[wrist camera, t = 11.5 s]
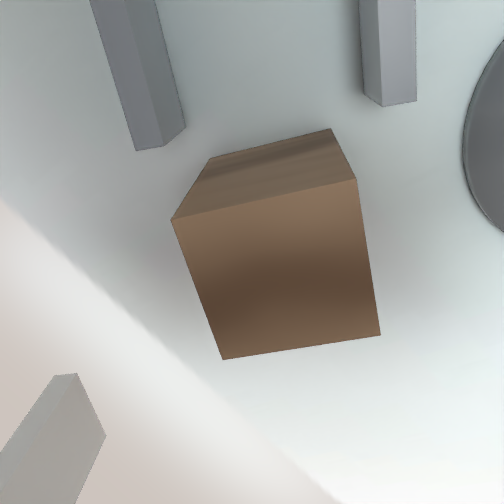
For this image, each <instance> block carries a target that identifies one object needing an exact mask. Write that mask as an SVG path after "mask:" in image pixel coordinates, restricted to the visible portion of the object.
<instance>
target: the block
mask: <svg viewBox="0 0 504 504" xmlns="http://www.w3.org/2000/svg"><path fill="white" fill-rule="evenodd" d="M171 223H172V225H173V228H174V231H175V233H176V236H177V239H178V241H179V244H180V247H181V249H182V252H183V255H184V258H185V260H186V263H187V266H188V268H189V271H190V274H191V276H192V279H193V282H194V284H195V287H196V290H197V292H198V295H199V298H200V301H201V303H202V306H203V309H204V311H205V314H206V317H207V319H208V322H209V325H210V327H211V330H212V333H213V335H214V338H215V341H216V344H217V346H218V349H219V352H220V354H221V357H222V360H227V359H233V358H239V357H246V356H252V355H258V354H265V353H271V352H278V351H284V350H290V349H297V348H303V347H309V346H316V345H322V344H329V343H335V342H341V341H348V340H354V339H361V338H367V337H373V336H380V335H381V333H380V327H379V321H378V314H377V308H376V302H375V295H374V289H373V283H372V276H371V270H370V263H369V257H368V251H367V244H366V238H365V232H364V225H363V219H362V212H361V206H360V200H359V193H358V187H357V181H356V177H355V175H354V173H353V171H352V169H351V167H350V165H349V163H348V161H347V159H346V157H345V155H344V153H343V152H342V150H341V148H340V146H339V144H338V142H337V140H336V138H335V136H334V134H333V132H332V130H331V128H330V129H326V130H322V131H318V132H314V133H310V134H306V135H302V136H298V137H294V138H290V139H286V140H282V141H278V142H274V143H270V144H266V145H262V146H258V147H254V148H250V149H246V150H242V151H238V152H234V153H230V154H225V155H221V156H217V157H213V158H210V159H209V161H208V162H207V164H206V165H205V167H204V169H203V170H202V172H201V173H200V175H199V176H198V178H197V179H196V181H195V183H194V184H193V186H192V187H191V189H190V190H189V192H188V194H187V195H186V197H185V198H184V200H183V201H182V203H181V205H180V206H179V208H178V209H177V211H176V212H175V214H174V215H173V217H172V219H171Z"/></svg>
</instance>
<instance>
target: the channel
mask: <svg viewBox="0 0 504 504" xmlns="http://www.w3.org/2000/svg"><path fill="white" fill-rule="evenodd" d="M358 3H359V19H360V34H361V50H362V66H363V81H364V95H366V96H367V97H369V98H370V99H372V100H373V101H375V102H376V103H377V104H379V105H380V106H382V107H386V106H391V105H397V104H403V103H408V102H414V101H417V86H416V6H415V0H358ZM90 4H91V7H92V10H93V13H94V17H95V20H96V23H97V26H98V30H99V33H100V36H101V39H102V43H103V46H104V49H105V52H106V56H107V59H108V62H109V65H110V69H111V72H112V75H113V78H114V82H115V85H116V88H117V91H118V95H119V98H120V101H121V104H122V108H123V111H124V114H125V117H126V121H127V124H128V127H129V130H130V134H131V137H132V140H133V143H134V147H135V150H136V151H139V150H145V149H150V148H156V147H162V146H165V145H166V144H167V143H168V142H170V141H171V140H172V139H173V138H174V137H175V136H176V135H178V134H179V133H180V132H181V131H182V130H183V129H184V128H186V125H185V121H184V117H183V113H182V109H181V105H180V101H179V97H178V93H177V89H176V85H175V81H174V77H173V73H172V69H171V65H170V61H169V57H168V53H167V49H166V45H165V41H164V37H163V33H162V29H161V25H160V21H159V17H158V13H157V9H156V5H155V1H154V0H90Z"/></svg>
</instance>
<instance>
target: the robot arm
mask: <svg viewBox="0 0 504 504" xmlns="http://www.w3.org/2000/svg"><path fill="white" fill-rule="evenodd" d="M105 438H106V434H105V432H104V430H103V428H102V425H101V423H100V421H99V419H98V417H97V415H96V413H95V410H94V408H93V406H92V404H91V402H90V400H89V398H88V395H87V393H86V391H85V389H84V387H83V385H82V383H81V381H80V378H79V376H78V374H77V373H74V374H65V375H55V376H54V377H53V378H52V380H51V381H50V383H49V384H48V385H47V387H46V388H45V390H44V391H43V393H42V394H41V395H40V397H39V398H38V400H37V401H36V403H35V404H34V405H33V407H32V408H31V410H30V411H29V412H28V414H27V415H26V417H25V418H24V420H23V421H22V422H21V424H20V426H19V427H18V428H17V430H16V431H15V432H14V434H13V435H12V437H11V438H10V439H9V441H8V442H7V444H6V445H5V447H4V448H3V450H2V451H1V452H0V504H75V503H76V500H77V498H78V496H79V494H80V492H81V490H82V488H83V485H84V483H85V481H86V479H87V477H88V474H89V472H90V470H91V468H92V466H93V464H94V461H95V459H96V457H97V455H98V453H99V451H100V448H101V446H102V444H103V442H104V440H105Z"/></svg>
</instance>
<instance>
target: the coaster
mask: <svg viewBox="0 0 504 504" xmlns="http://www.w3.org/2000/svg"><path fill="white" fill-rule="evenodd" d="M463 163H464V169H465V174H466V179H467V182H468V185H469V187H470V190H471V193H472V195H473V197H474V198H475V200H476V202H477V204H478V206H479V207H480V208H481V210H482V211H483V212H484V214H485V215H486V216H487V217H488V218H489V219H490V220H491V221H492V222H493V223H494V224H495V225H496V226H497V227H498V228H500V229H501V230H502V231H503V232H504V40H503V42H502V43H501V44H500V46H499V47H498V49H497V50H496V52H495V53H494V55H493V57H492V58H491V60H490V61H489V63H488V64H487V66H486V68H485V70H484V72H483V74H482V76H481V78H480V80H479V82H478V84H477V86H476V89H475V92H474V94H473V97H472V100H471V103H470V105H469V109H468V113H467V118H466V122H465V126H464V136H463Z"/></svg>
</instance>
